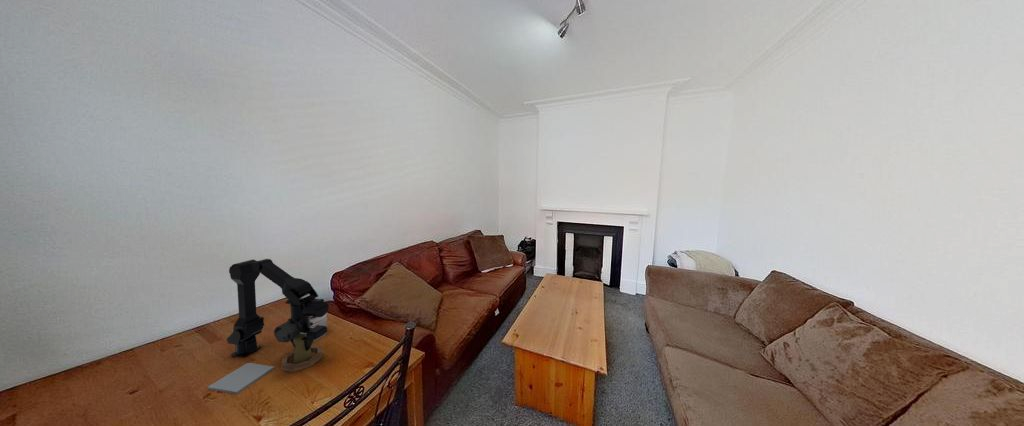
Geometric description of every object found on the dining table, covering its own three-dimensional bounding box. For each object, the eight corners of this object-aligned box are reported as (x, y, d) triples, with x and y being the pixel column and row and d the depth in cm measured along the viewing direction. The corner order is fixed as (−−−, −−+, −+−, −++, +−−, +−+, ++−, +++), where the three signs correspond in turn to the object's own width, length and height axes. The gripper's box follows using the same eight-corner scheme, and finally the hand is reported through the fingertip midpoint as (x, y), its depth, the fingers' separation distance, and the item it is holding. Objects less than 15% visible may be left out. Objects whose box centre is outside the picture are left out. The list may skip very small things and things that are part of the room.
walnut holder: (273, 368, 96) (273, 364, 96) (303, 348, 108) (303, 344, 108) (301, 373, 95) (301, 368, 94) (329, 351, 107) (329, 347, 107)
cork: (301, 366, 98) (299, 340, 97) (289, 363, 99) (287, 338, 98) (316, 356, 104) (314, 331, 103) (304, 353, 105) (303, 329, 104)
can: (291, 344, 111) (289, 318, 109) (305, 329, 122) (304, 306, 120) (320, 341, 113) (319, 316, 112) (331, 327, 124) (331, 304, 123)
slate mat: (207, 389, 86) (207, 386, 86) (248, 364, 98) (247, 362, 98) (236, 394, 84) (236, 391, 84) (274, 368, 96) (274, 366, 96)
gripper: (257, 322, 92) (260, 360, 94) (301, 327, 90) (303, 366, 92) (287, 307, 103) (289, 342, 105) (327, 312, 101) (329, 347, 103)
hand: (302, 349), depth 101 cm, fingers closed on cork, 4 cm apart
